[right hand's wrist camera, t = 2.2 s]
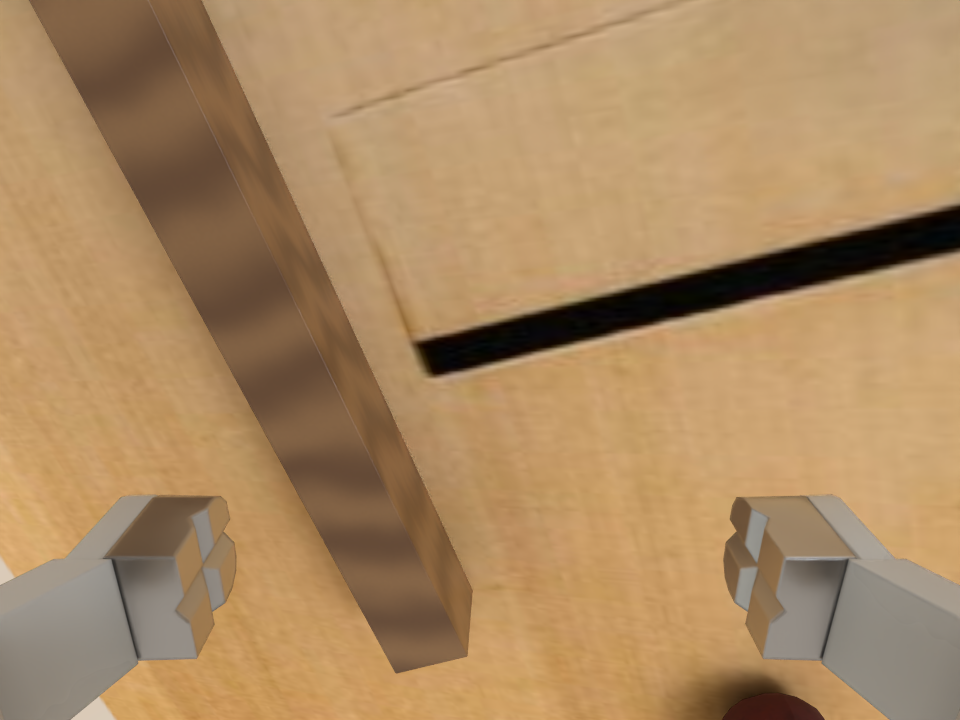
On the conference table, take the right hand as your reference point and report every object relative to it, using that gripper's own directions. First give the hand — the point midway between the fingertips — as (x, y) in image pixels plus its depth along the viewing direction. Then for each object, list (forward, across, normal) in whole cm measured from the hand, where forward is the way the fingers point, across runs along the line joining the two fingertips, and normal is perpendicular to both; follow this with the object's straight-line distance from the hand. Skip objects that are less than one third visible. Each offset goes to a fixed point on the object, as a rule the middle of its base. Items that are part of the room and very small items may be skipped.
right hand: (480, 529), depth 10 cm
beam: (+27, +13, -3) cm, 30 cm away
